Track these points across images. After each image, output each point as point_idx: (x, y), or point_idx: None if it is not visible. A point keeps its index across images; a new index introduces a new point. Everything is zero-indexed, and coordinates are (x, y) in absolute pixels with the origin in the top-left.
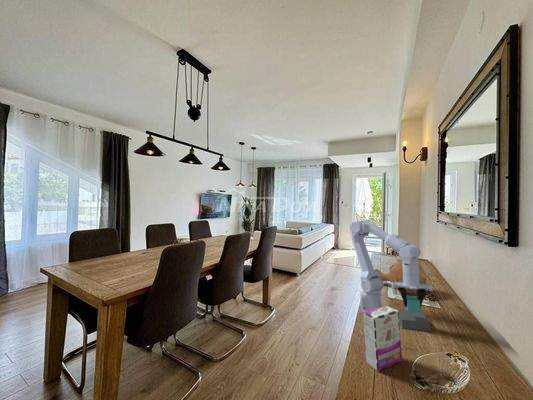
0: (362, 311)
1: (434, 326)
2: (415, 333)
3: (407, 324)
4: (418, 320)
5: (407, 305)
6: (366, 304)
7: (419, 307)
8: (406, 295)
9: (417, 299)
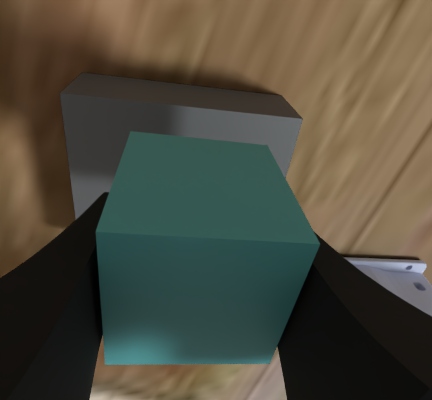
0: (425, 265)
1: (33, 158)
2: (215, 18)
3: (251, 101)
4: (157, 123)
5: (285, 191)
6: (423, 306)
7: (131, 164)
8: (354, 319)
9: (125, 278)
